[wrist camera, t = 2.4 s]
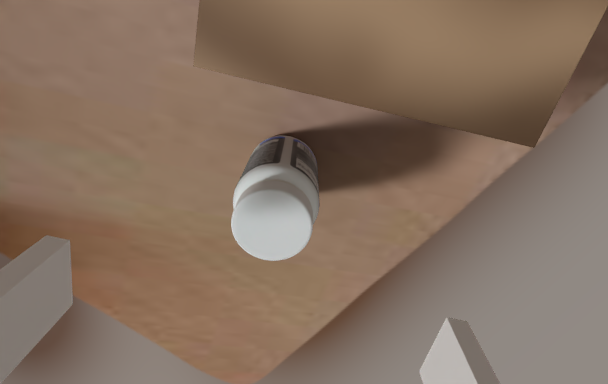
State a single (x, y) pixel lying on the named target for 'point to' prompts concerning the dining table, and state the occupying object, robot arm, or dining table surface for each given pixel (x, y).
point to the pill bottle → (276, 199)
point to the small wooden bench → (409, 55)
